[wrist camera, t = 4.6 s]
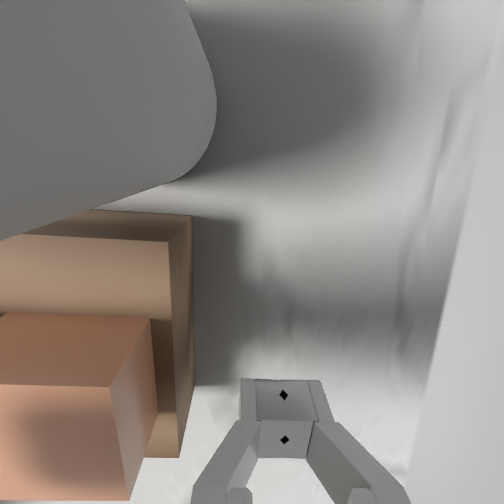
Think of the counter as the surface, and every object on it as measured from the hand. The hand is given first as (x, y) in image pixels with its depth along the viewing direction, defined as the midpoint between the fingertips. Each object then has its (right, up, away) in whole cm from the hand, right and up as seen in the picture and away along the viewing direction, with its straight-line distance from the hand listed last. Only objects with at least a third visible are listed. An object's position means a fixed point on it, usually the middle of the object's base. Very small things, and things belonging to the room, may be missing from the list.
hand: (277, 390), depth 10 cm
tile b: (-7, +1, 0) cm, 7 cm away
